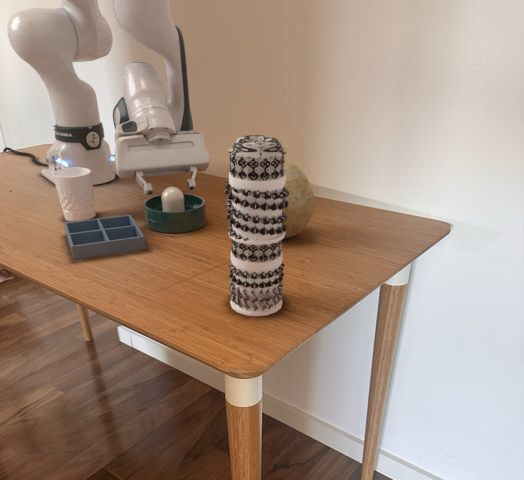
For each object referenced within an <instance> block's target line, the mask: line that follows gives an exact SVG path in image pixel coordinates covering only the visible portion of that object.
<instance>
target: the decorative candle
mask: <svg viewBox="0 0 524 480" xmlns="http://www.w3.org/2000/svg"><path fill="white" fill-rule="evenodd" d="M227 152H228V154H229V173H228V179H226V181H225V182H224V185H225V189H224V190H223V191H224V194H225V195H226V198H227V200H226V205H225V209H226V210H227V213H226V214H225V218H226V219H227V222H228V228H227V232H228V236H229V238H230V239H231V251H230V261H229V264H228V268H229V271H230V273H228V277H229V278H230V282H229V283H228V288H229V289H230V290H229V291H230V292H229V293H228V295H229V298H230V302H229V304H230V306H231V309H232V310H233V311H235V312H236V313H238V314H241V315H244V316H249V317H264V316H269V315H272V314H275V313H277V312H278V311H280V309H282V306H283V296H284V292H283V290H284V288H283V287H284V286H285V284H284V283H283V282H282V281H283V280H284V276H285V273H284V268H285V263H284V262H283V253H284V252H283V251H282V247H283V246H282V245H283V241H282V240H283V239H285V238H284V236H285V231H286V228H287V226H286V225H284V224H283V222H284V221H286V220H287V215H286V214H284V213H283V211H282V209H284V208H286V207H288V204H289V202H288V201H287V200H285V199H283V198H285V197H287V196H288V195H289V191H288V190H287V189H286V188H285V187H284V185H285V178H286V174H285V173H284V166H285V162H286V160H285V156H286V154H287V153H288V150H287V148H285V147H283V145H282V143H281V142H280V140H278V138H276V137H274V136H270V135H264V134H250V135H243V136H239V137H238V138H237V139H236V140H235V141H234V144H233V145H232V147H230V148H228V149H227ZM283 187H284V188H283Z"/></svg>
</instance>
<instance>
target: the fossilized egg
mask: <svg viewBox="0 0 524 480" xmlns="http://www.w3.org/2000/svg"><path fill="white" fill-rule="evenodd" d="M284 173H285V174H286V178H285V185H284V187H285V188H286V189H287V190H288V191H289V195H288V196H287V197H285V198H283V199H285V200H287V201H288V202H289V204H288V207H286V208H284V209H282V211H283V213H284V214H286V215H287V220H286V221H284V222H283V224H284V225H286V226H287V228H286V231H285V236H284V238H283V239H289V238H292V237H294V236H297V235H298V234H300V233H301V232H302V231H303V230H304V229H305V228H306V227H307V225H308V224H309V223H310V221H311V219H312V217H313V213H314V208H315V196H314V191H313V188H312V185H311V183H310V181H309V179H308V177H307V175H305V173H304V172H303V171H302V170H301V169H300V168H299V167H298V166H297V165H296V164H294V163H292V162H289V161H285V166H284ZM284 187H283V188H284Z"/></svg>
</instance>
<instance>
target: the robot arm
mask: <svg viewBox="0 0 524 480" xmlns="http://www.w3.org/2000/svg"><path fill="white" fill-rule="evenodd" d="M112 2H113V3H112V4H113V11H114V17H115V20H116V22H117V24H118V26H119V27H120V28H121V30H122V31H123V32H124V33H125V34H126V35H127V37H129V38H131V40H133V41H135V42H136V43H138V44H140V45H141V46H142V47H145V48H147V49H149V50H151V51H152V52H154V53H156V54H157V55H159V56H160V57H161V58H162V59H163V61H164V64H165V70H166V71H165V72H166V78H167V89H168V96H167V93H166V90H165V87H164V84H163V81H162V79H161V76H160V73H159V72H158V70H157V68H156V67H155V66H154V65H153V64H151V63H149V62H144V61H143V62H142V61H138V62H137V61H134V62H130V63H128V64H127V65H125V66H124V67H123V68H122V71H121V82H122V97H121V98H120V99H119V100H118V101H117V103H116V104H115V106H114V107H113V109H112V121H113V122H112V123H113V126H114V129H115V131H114V156H112V152H111V147H110V144H109V143H108V142H107V141H106V140H105V139H104V138H105V129H104V126H103V123H102V122H101V116H100V109H99V104H98V98H97V93H96V91H95V89H94V88H93V87H92V86H91V85H90V84H89V83H88V82H86V81H84V80H82V79H81V78H80V77H79V76H78V74H77V73H76V71H75V70H76V69H74V65H73V63H82V62H83V63H85V62H93V61H96V60H98V59H102V58H104V57H107V56H108V55H109V54H110V53H111V50H112V47H113V42H114V41H113V32H112V29H111V26H110V23H109V22H108V21H107V19H106V17H104V15H103V14H102V12H101V10H100V7H99V0H60V5H59V7H57V8H41V7H40V8H37V7H36V8H35V7H33V8H28V9H23V10H20V11H16V12H14V13H12V14H11V16H10V17H9V20H8V24H7V37H8V41H9V43H10V46H11V48H12V49H13V51H14V52H15V54H16V55H17V56H18V57H19V58H20V59H21V60H22V61H24V62H26V63H27V64H28V65H29V66H30V67H31V68H32V69H33V70H34V71H35V72H36V73H37V75H38V76H39V77H40V79H41V80H42V82H43V84H44V86H45V88H46V90H47V93H48V95H49V99H50V103H51V106H52V110H53V115H54V116H53V117H54V121H55V124H54V125H52V127H54V128H53V131H54V138H55V141H54V142H53V144H52V145H51V147H50V148H49V149H48V150H47V152H46V156H45V157H44V160H45V163H43V162H40V161H39V160H36V159H35V158H36V157H35V154H33V153H30V152H24V151H17V150H14V149H13V148H11V147H8V146H6V147H4V148H3V150H2V152H3V153H7V151H9V152H11V153H13V154H15V155H20V156H26V157H27V156H28V157H30V159H31V162H33V164H34V163H35V164H37V165H38V166H42V167H46V168H44V169H42V170H40V173H41V176H43V177H45V178H46V179H47V180H48V181H50V182H51V183H53V184H54V185H55V182H54V178H53V174H52V173H53V172H54V171H56V170H59V169H64V168H73V167H80V168H87V169H90V170H91V175H92V183H93V186H95V185H100V184H101V185H102V184H105V183H109V182H112V181H113V180H115V179H116V176H118V178H120V179H122V180H125V179H135V183H137V184H138V185H139V186H140V187H141V188H142V189H143V192H144V194H145V196H147V195H153V192H154V190H153V187H152V183H151V182H149V183H148V182H146V180H145V179H144V178H147V177H156V176H166V175H177V174H179V175H180V174H188V176H189V177H191V178H189V179H187V181H186V187H187V191H195V190H196V188H197V184H196V181H195V179H196V176H197V173H199V172H206V171H207V170H208V168H209V167H210V163H211V157H210V154H209V150H208V149H207V146H206V141H205V138H204V135H203V134H202V133H201V132H199V131H197V130H195V129H194V123H193V122H194V121H193V115H192V110H191V105H190V104H191V103H190V102H191V101H190V92H189V78H188V66H187V55H186V48H185V47H186V46H185V40H184V37H183V36H184V35H183V33H182V31H181V29H180V27H179V26H177V25H176V24H175V23H174V20H173V17H172V13H171V9H170V0H112Z"/></svg>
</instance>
